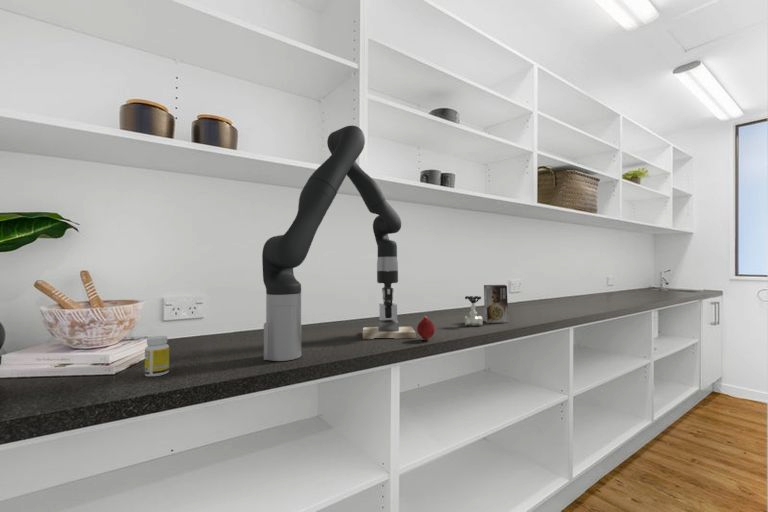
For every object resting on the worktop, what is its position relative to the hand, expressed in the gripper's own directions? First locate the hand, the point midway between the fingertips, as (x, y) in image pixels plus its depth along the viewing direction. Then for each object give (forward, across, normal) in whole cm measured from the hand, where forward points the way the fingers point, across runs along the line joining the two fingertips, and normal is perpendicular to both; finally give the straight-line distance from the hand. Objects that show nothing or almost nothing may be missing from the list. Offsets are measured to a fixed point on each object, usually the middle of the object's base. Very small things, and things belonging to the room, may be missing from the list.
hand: (387, 316), depth 127 cm
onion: (+7, +10, +12) cm, 17 cm away
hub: (+1, 0, 0) cm, 1 cm away
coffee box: (+7, -27, +49) cm, 56 cm away
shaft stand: (+7, 0, 0) cm, 7 cm away
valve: (+7, -17, +36) cm, 40 cm away
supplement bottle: (+7, +42, -56) cm, 70 cm away
